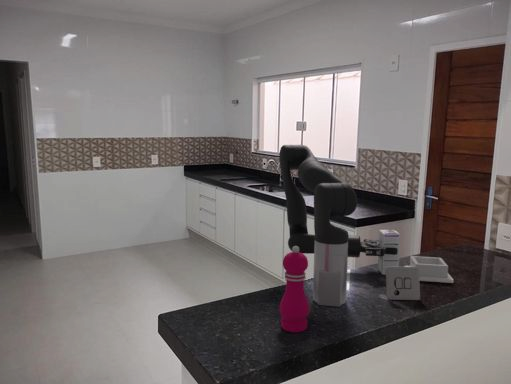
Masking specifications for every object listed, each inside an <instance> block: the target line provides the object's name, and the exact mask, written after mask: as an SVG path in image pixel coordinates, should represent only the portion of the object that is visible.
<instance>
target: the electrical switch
mask: <svg viewBox="0 0 511 384" xmlns="http://www.w3.org/2000/svg"><path fill="white" fill-rule="evenodd" d="M420 282H421V281H419V269H418V268H417V267H405V266H399V267H392V266H388V267H386V275H385V284H386V291H385V292H386V293H385V294H386V299H387V300H390V301H391V300H392V301H394V300H395V301H396V300H397V301H419V300H420V299H421V285H420V284H421V283H420Z"/></svg>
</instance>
